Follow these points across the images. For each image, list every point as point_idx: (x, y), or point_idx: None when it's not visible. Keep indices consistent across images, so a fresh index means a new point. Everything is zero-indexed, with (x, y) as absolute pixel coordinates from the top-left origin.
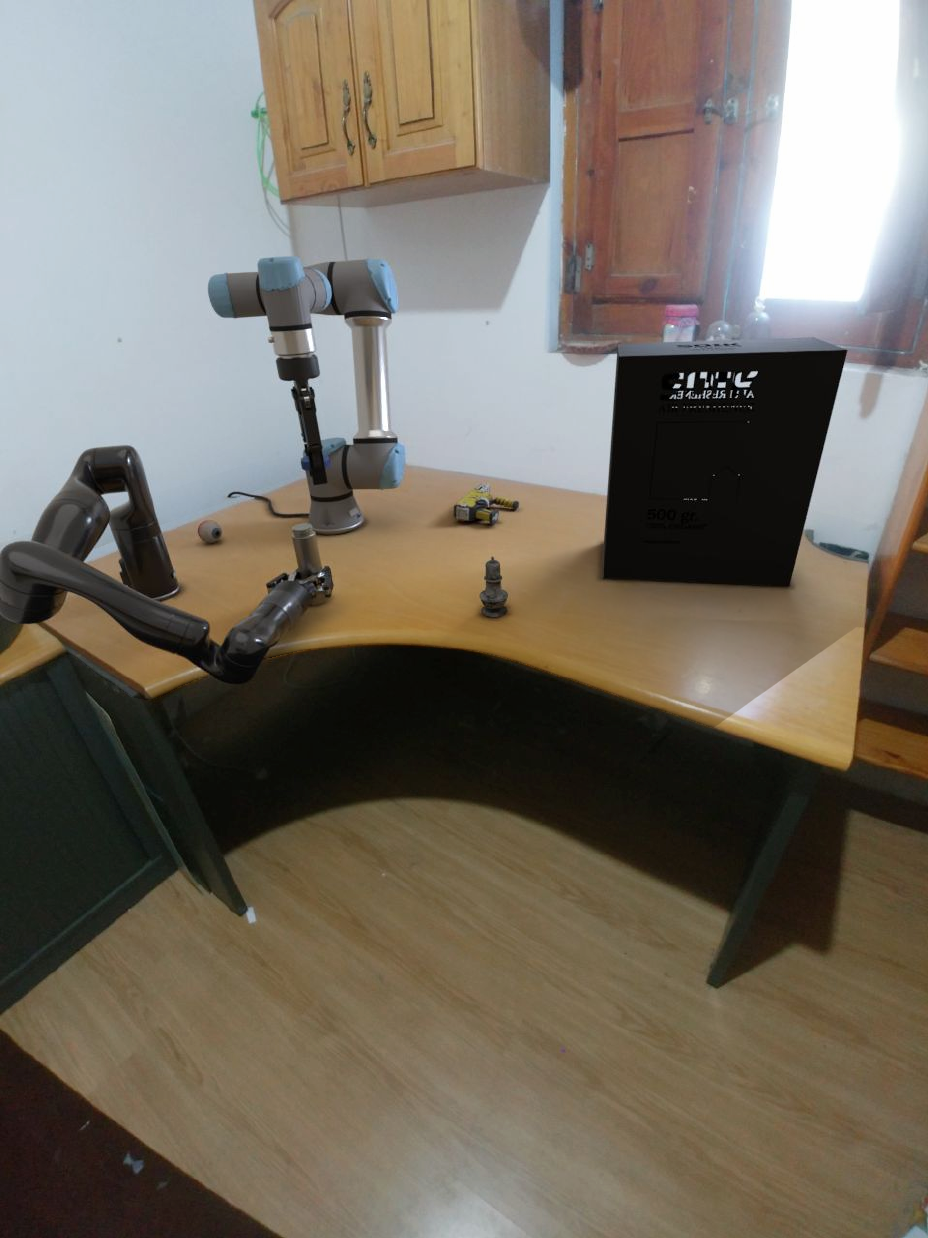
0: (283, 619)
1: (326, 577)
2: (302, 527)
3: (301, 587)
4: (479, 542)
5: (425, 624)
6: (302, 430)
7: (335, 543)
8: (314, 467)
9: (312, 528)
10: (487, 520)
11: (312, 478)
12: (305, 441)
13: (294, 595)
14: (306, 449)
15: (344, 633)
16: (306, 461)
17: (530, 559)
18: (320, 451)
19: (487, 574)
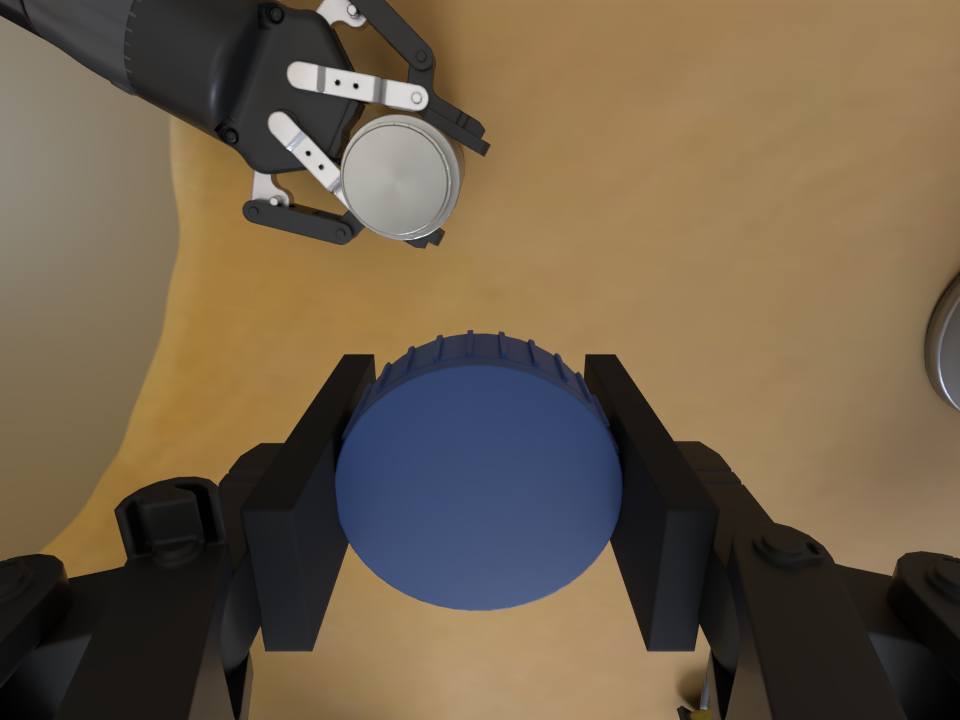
0: (6, 17)
1: (324, 222)
2: (381, 182)
3: (196, 114)
4: (599, 651)
5: (184, 427)
6: (766, 698)
7: (857, 294)
8: (258, 450)
9: (381, 233)
10: (696, 711)
11: (352, 372)
12: (728, 552)
13: (129, 78)
14: (647, 485)
15: (187, 221)
16: (382, 414)
17: (441, 709)
18: (266, 627)
19: None
